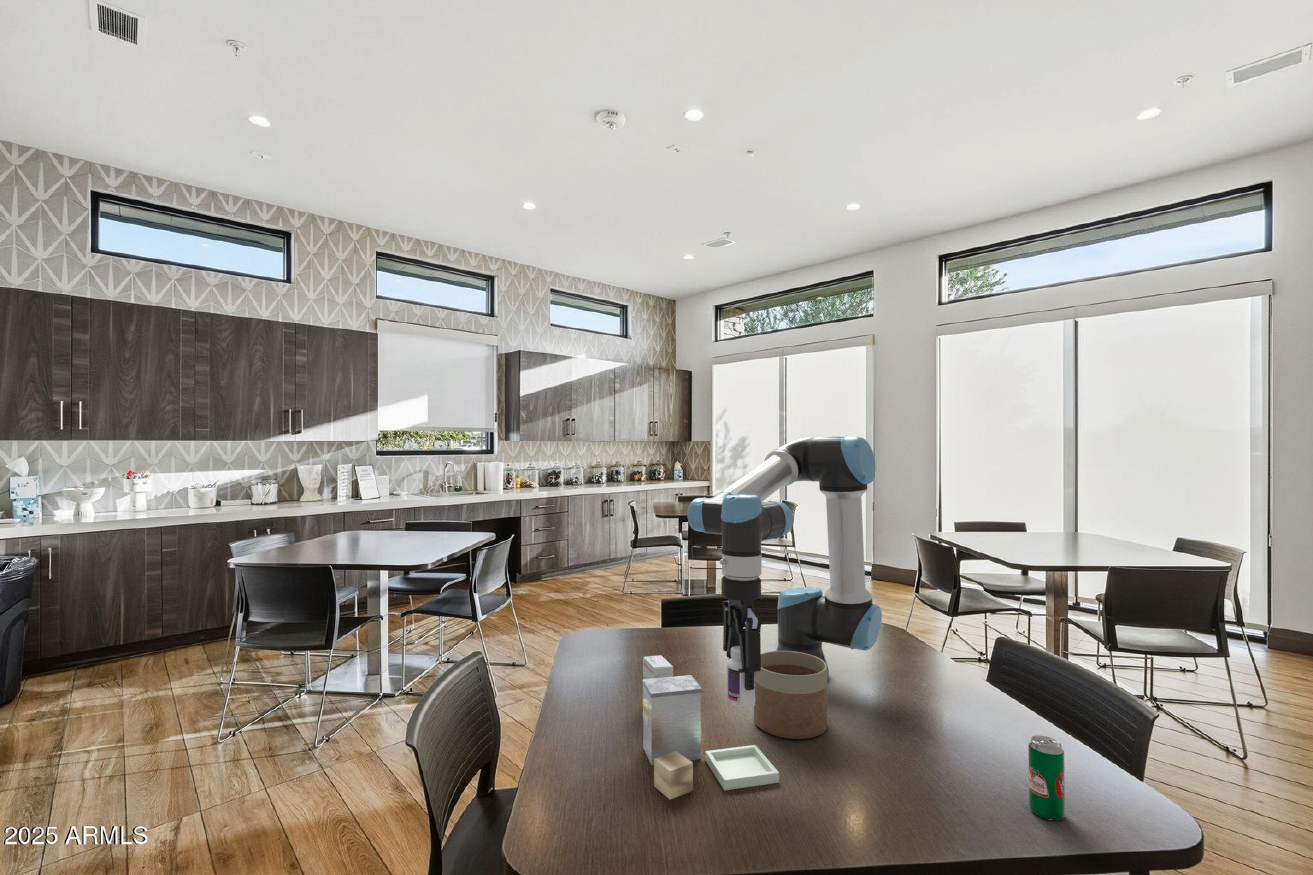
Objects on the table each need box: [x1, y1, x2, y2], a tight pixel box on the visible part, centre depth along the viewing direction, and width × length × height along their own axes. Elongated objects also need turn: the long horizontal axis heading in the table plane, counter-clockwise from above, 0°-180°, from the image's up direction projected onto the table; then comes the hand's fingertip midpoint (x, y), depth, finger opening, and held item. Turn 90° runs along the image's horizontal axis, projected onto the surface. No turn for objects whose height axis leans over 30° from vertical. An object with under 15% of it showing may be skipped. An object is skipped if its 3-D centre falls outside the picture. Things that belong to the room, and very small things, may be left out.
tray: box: [704, 744, 780, 791], centre depth 113 cm, size 11×11×2 cm
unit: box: [641, 674, 703, 766], centre depth 120 cm, size 11×7×14 cm
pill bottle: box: [726, 646, 756, 706], centre depth 114 cm, size 5×5×10 cm
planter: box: [753, 650, 828, 740], centre depth 133 cm, size 16×16×14 cm
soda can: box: [1027, 735, 1066, 821], centre depth 101 cm, size 5×5×12 cm
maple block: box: [653, 751, 694, 800], centre depth 107 cm, size 5×5×5 cm
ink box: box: [642, 654, 674, 700], centre depth 139 cm, size 9×5×12 cm, turn 20°
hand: (740, 698), depth 114 cm, fingers closed on pill bottle, 5 cm apart
